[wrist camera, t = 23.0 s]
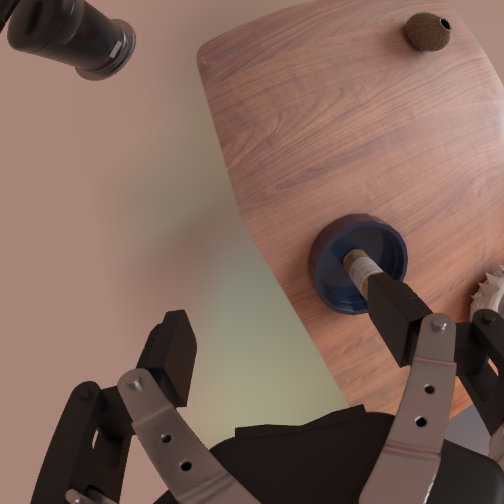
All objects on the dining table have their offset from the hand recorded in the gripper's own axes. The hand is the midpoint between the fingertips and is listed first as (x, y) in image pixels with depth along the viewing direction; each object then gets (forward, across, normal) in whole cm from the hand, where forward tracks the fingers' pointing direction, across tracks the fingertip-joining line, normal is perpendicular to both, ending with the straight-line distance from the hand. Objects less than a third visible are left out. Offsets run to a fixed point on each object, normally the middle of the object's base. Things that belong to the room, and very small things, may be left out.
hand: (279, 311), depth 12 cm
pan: (+30, -14, +14) cm, 36 cm away
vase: (+30, -32, -23) cm, 50 cm away
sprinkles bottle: (+30, -14, +14) cm, 36 cm away
